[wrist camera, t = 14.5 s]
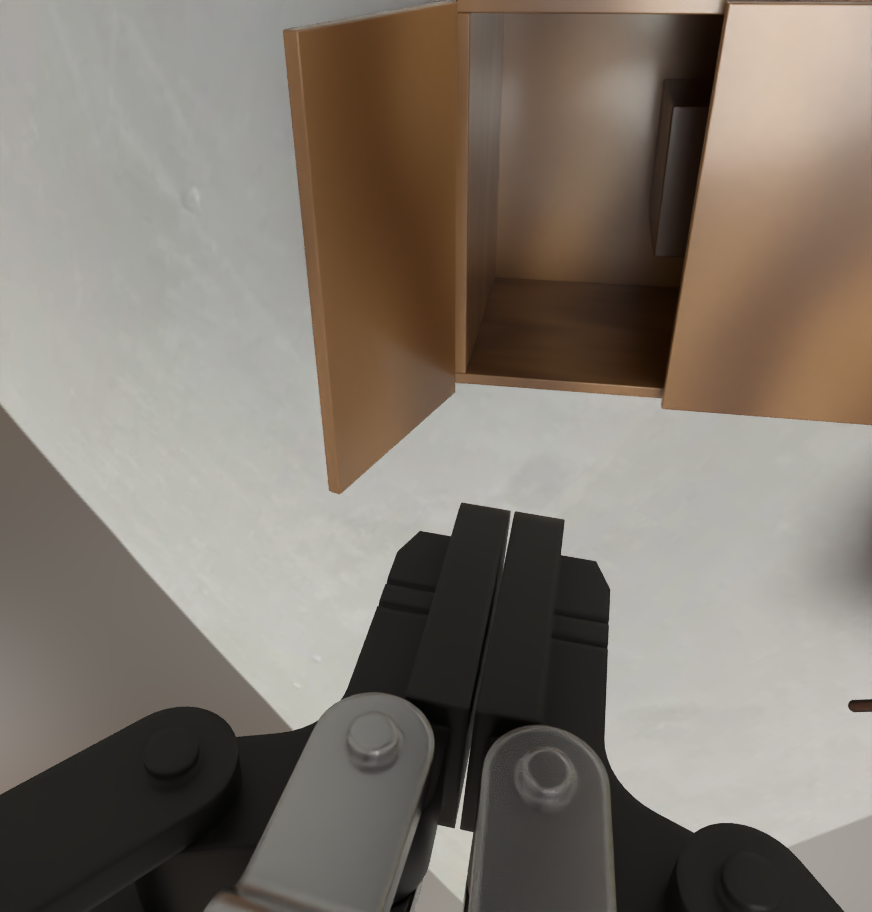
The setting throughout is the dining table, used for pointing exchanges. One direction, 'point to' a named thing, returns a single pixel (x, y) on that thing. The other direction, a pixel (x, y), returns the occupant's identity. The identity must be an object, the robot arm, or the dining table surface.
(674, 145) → the block
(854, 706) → the music box
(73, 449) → the dining table surface
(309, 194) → the flap
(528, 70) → the carton
